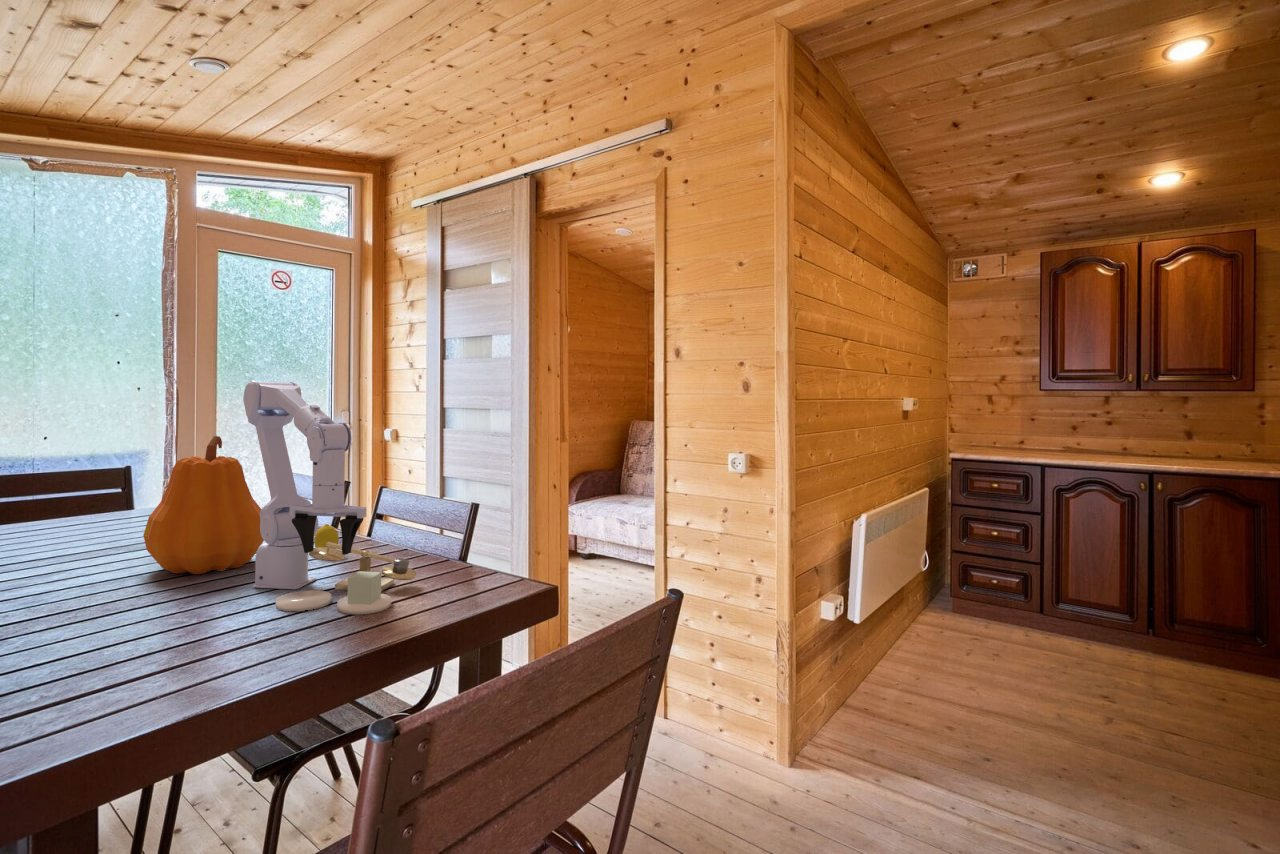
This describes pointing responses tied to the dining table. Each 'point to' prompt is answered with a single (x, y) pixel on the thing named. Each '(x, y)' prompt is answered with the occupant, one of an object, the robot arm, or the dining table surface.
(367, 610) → the dish right
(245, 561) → the decorative pumpkin
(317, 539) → the lemon
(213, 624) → the dining table surface
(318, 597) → the dish left
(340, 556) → the balance beam
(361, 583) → the block
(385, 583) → the balance stand
